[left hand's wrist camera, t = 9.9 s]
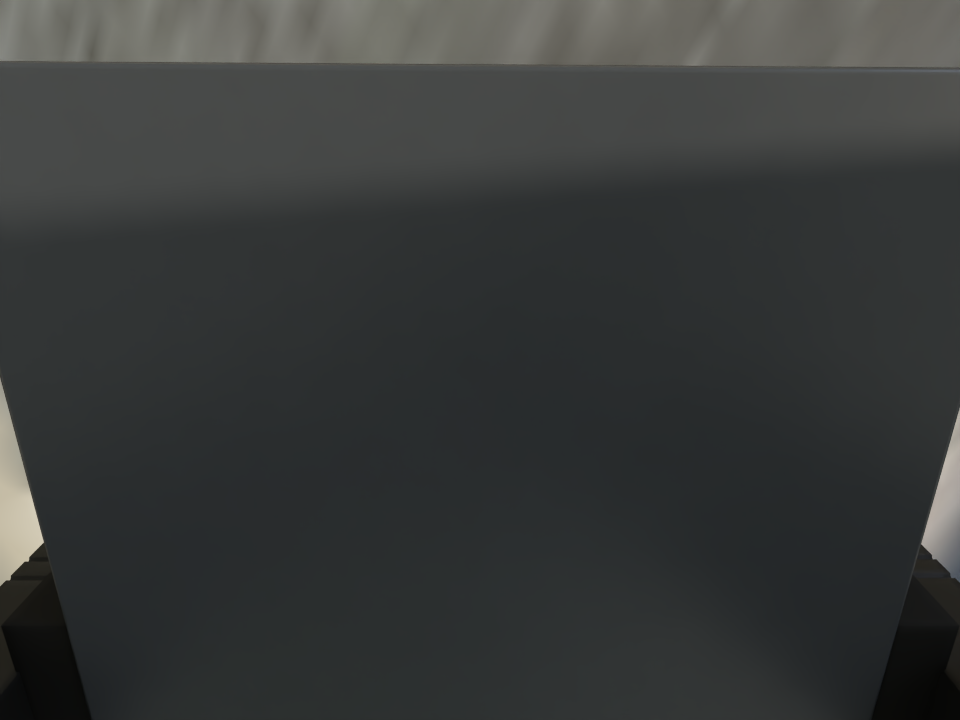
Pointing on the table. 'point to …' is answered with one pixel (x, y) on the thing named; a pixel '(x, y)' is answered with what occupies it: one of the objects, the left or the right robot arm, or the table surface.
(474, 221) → the wide beam
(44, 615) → the left robot arm
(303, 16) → the table surface
